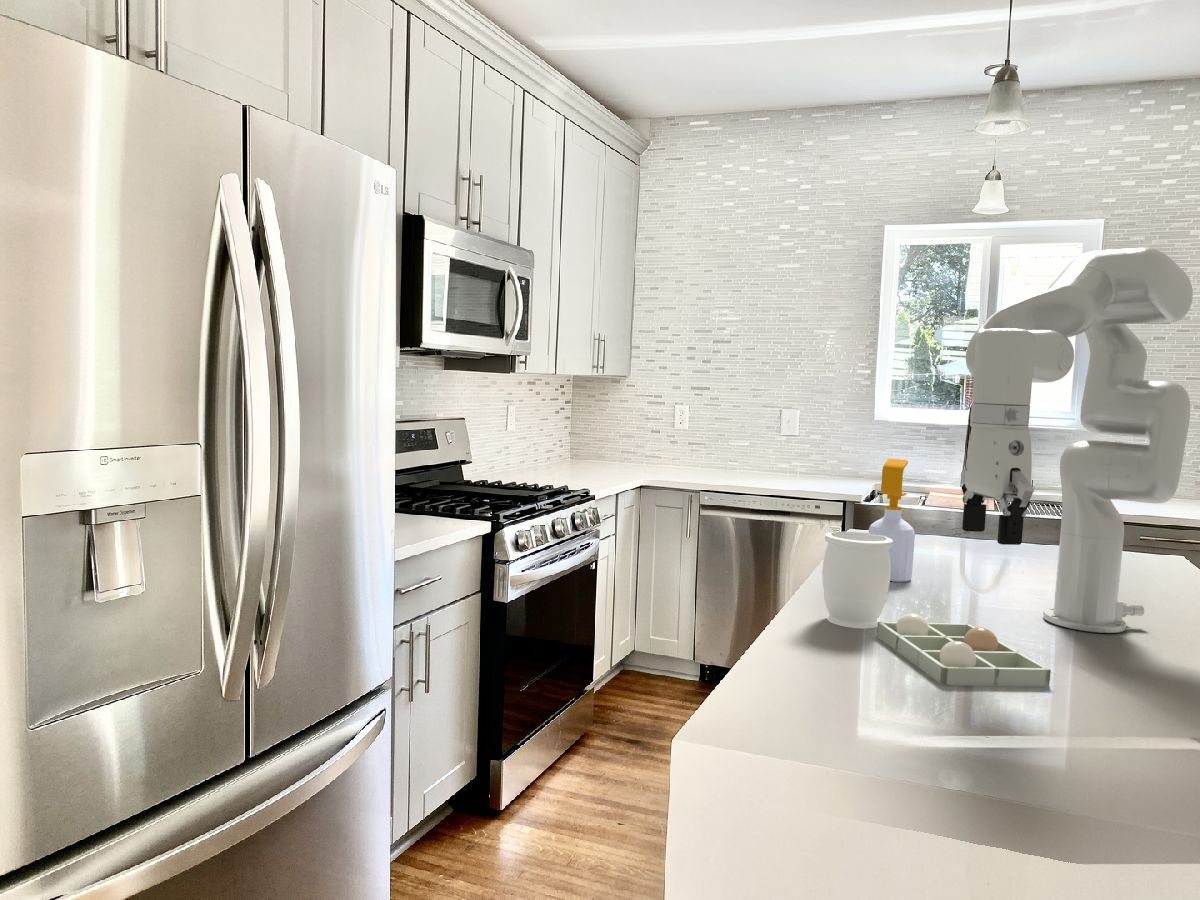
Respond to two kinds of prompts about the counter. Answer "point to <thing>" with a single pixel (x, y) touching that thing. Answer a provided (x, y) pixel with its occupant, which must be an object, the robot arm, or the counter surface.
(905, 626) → the cream egg
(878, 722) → the counter surface
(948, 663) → the cream egg
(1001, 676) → the egg tray
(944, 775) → the counter surface
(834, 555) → the jar
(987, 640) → the brown egg
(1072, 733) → the counter surface
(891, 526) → the soap bottle
